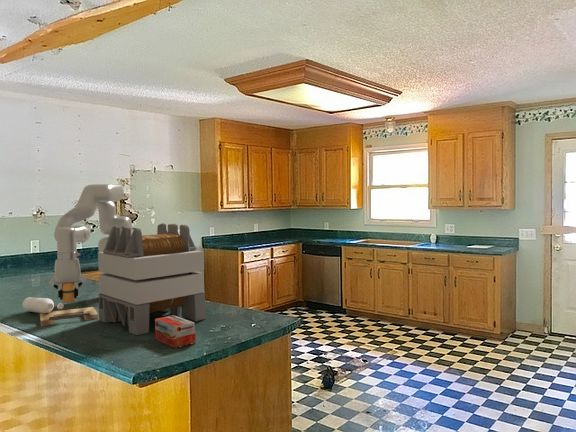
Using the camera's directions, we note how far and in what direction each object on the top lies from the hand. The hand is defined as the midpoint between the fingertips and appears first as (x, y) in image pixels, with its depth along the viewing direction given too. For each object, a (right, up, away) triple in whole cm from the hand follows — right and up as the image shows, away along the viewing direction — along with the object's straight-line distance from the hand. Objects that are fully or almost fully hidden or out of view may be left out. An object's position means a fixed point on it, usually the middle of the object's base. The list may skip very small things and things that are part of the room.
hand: (68, 298), depth 204 cm
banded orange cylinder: (0, -1, 0) cm, 1 cm away
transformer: (+36, -9, -1) cm, 37 cm away
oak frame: (-2, -9, +4) cm, 10 cm away
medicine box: (+53, -11, -32) cm, 63 cm away
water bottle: (-25, -6, +19) cm, 32 cm away
